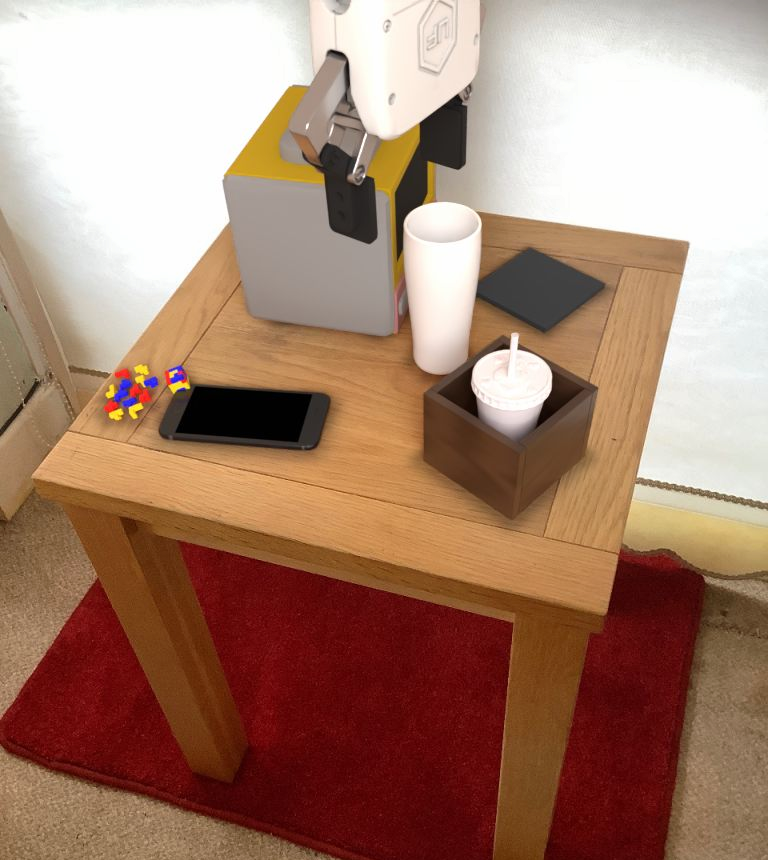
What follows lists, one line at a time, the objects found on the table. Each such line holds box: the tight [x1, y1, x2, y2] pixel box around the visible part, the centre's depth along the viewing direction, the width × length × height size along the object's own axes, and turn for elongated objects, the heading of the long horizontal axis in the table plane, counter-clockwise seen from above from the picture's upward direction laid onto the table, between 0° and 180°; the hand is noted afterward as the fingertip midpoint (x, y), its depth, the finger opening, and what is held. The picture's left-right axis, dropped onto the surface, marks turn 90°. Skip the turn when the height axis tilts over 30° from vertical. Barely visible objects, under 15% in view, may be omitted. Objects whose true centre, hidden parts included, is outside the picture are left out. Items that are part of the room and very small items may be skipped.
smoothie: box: [471, 332, 552, 444], centre depth 71 cm, size 6×6×14 cm
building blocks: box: [103, 364, 191, 421], centre depth 83 cm, size 6×8×2 cm
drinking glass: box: [403, 201, 483, 376], centre depth 79 cm, size 7×7×15 cm
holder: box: [422, 334, 599, 521], centre depth 73 cm, size 10×10×8 cm
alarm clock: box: [221, 84, 438, 338], centre depth 86 cm, size 20×16×18 cm
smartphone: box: [157, 383, 332, 452], centre depth 80 cm, size 7×15×1 cm, turn 82°
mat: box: [476, 247, 606, 333], centre depth 91 cm, size 10×10×1 cm
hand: (400, 197), depth 54 cm, fingers open, 9 cm apart
